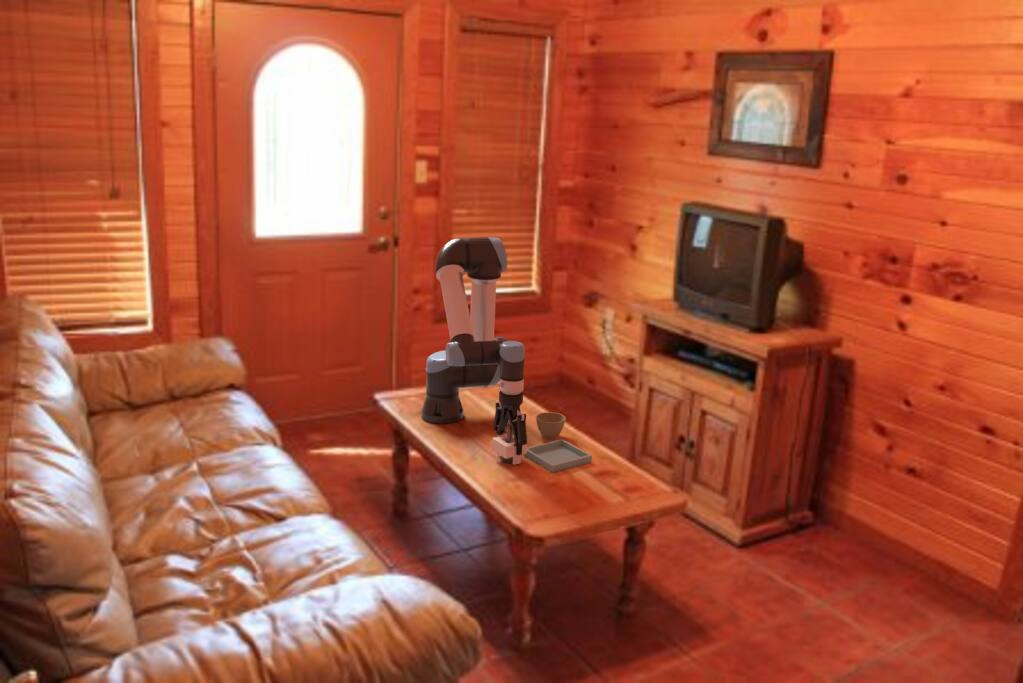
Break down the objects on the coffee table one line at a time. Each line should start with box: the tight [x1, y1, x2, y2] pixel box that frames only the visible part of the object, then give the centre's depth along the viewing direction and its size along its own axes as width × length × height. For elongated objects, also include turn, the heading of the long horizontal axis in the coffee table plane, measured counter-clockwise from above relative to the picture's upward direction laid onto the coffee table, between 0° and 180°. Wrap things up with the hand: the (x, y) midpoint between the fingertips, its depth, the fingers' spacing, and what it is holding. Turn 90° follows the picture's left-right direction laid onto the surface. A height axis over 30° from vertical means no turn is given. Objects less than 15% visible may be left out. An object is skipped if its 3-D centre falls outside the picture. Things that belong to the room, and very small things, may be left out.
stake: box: [500, 423, 513, 464], centre depth 275 cm, size 5×5×12 cm
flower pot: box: [535, 411, 567, 441], centre depth 296 cm, size 10×10×7 cm
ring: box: [491, 434, 528, 459], centre depth 276 cm, size 8×8×4 cm
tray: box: [523, 438, 593, 474], centre depth 279 cm, size 16×16×2 cm
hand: (509, 458), depth 277 cm, fingers closed on ring, 8 cm apart
